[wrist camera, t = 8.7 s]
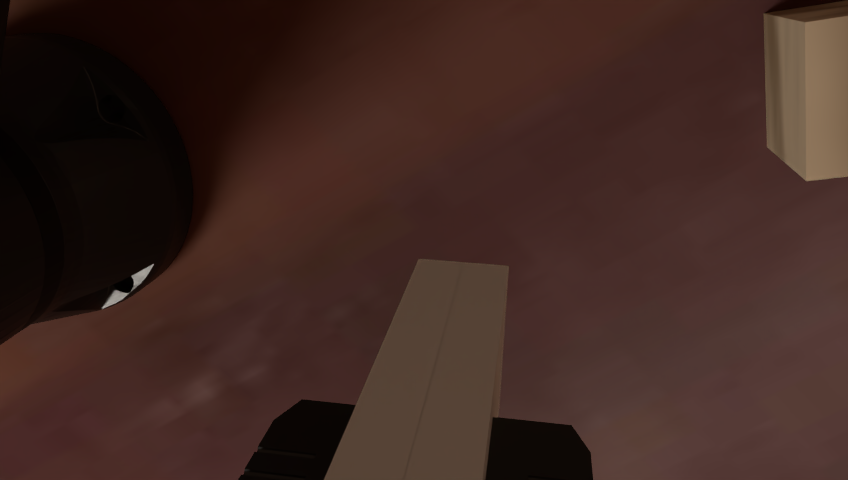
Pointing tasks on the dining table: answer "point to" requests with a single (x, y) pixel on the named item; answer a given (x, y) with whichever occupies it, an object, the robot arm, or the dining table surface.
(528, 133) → the dining table surface
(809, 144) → the maple cube
